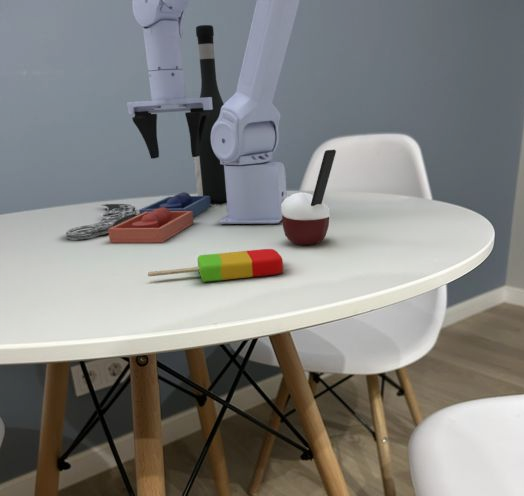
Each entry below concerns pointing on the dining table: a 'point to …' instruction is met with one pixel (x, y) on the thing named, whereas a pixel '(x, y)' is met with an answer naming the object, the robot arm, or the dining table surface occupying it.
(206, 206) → the blue tray
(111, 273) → the dining table surface
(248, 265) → the popsicle
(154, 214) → the red lobed piece
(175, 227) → the red tray
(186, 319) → the dining table surface
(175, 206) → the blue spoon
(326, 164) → the cocoa
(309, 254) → the dining table surface
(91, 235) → the marbled grey crescent
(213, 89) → the wine bottle
